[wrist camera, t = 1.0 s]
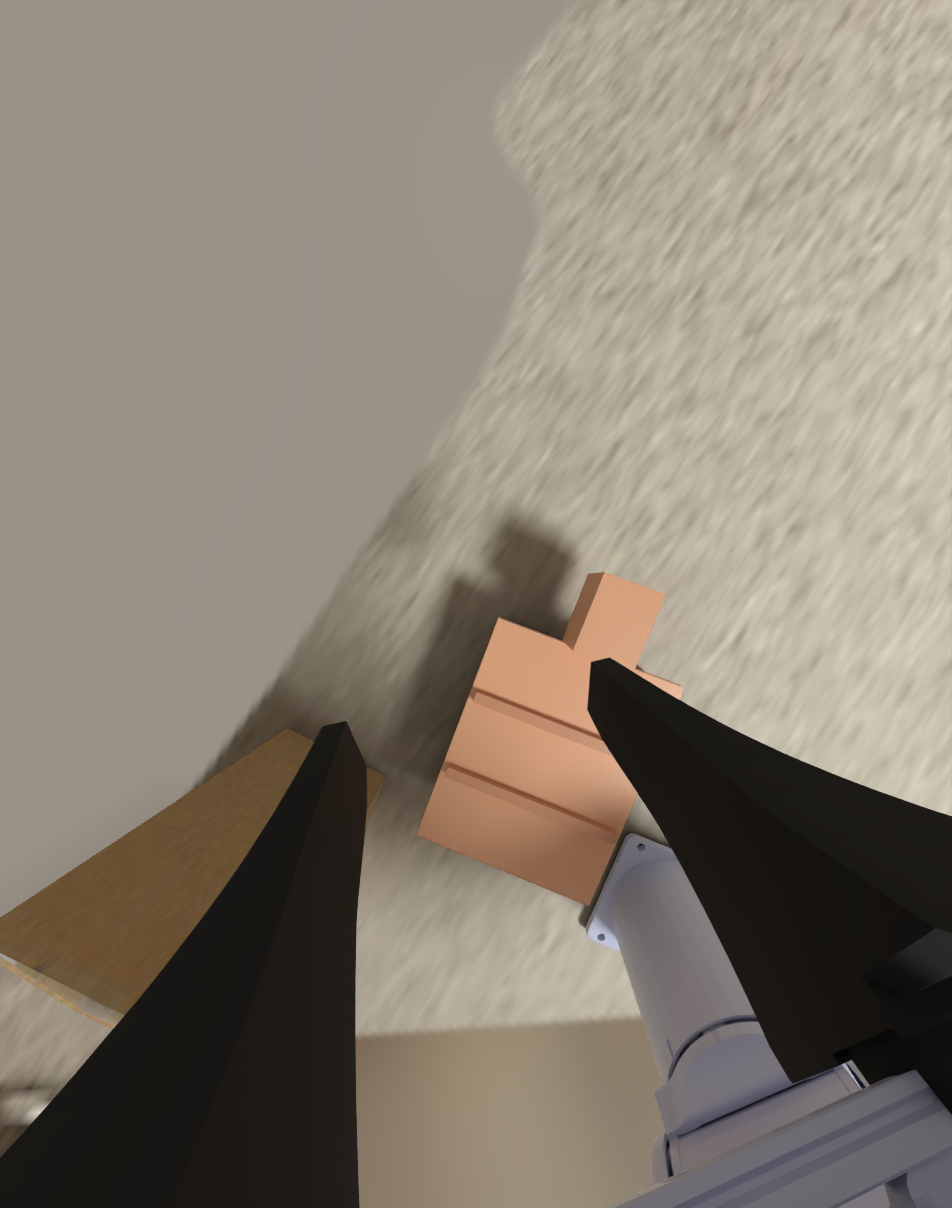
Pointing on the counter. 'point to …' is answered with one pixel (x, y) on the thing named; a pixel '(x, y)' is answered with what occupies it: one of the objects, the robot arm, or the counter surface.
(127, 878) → the sandwich container
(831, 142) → the counter surface
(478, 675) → the lid
